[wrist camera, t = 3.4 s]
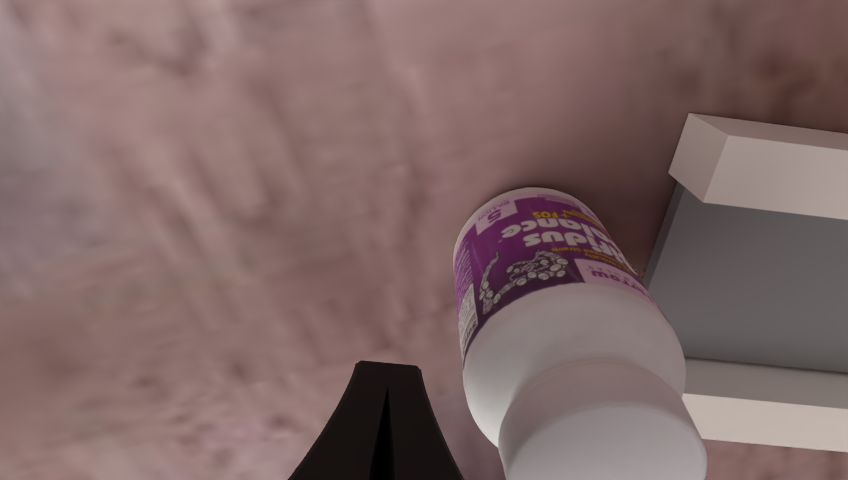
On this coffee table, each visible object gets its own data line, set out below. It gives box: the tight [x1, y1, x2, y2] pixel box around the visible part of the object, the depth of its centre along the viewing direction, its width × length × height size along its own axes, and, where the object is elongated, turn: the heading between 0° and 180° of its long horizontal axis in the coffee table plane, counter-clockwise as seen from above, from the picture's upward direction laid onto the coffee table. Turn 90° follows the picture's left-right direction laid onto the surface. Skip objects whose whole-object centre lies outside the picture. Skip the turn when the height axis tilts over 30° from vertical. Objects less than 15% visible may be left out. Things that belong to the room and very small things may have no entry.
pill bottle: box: [453, 187, 708, 480], centre depth 15 cm, size 5×5×10 cm
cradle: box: [642, 113, 848, 452], centre depth 19 cm, size 11×12×4 cm
